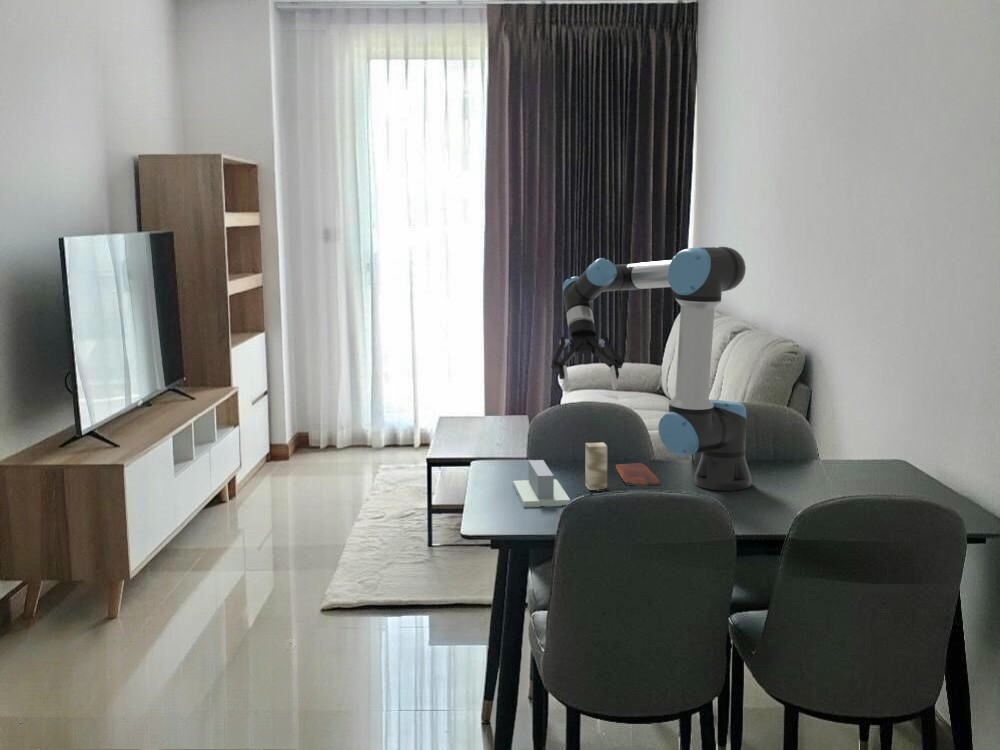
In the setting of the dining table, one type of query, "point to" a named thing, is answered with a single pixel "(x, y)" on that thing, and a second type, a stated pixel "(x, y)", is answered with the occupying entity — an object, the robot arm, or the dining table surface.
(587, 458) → the birch block
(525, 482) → the ridge stand
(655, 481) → the wooden tablet
